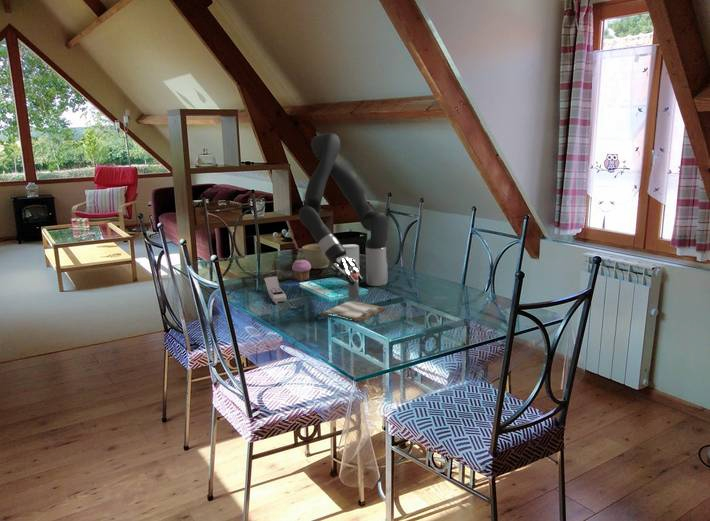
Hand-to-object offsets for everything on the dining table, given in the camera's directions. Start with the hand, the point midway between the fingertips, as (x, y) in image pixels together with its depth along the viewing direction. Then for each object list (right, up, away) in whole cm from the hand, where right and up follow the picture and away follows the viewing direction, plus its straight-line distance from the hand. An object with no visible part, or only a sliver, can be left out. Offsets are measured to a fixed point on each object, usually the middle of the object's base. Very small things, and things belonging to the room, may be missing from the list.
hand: (357, 282), depth 227 cm
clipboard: (-1, -12, +4) cm, 12 cm away
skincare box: (-3, +1, +59) cm, 59 cm away
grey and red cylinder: (-1, -6, +3) cm, 6 cm away
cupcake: (-26, -1, +53) cm, 59 cm away
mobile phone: (-35, -7, +29) cm, 46 cm away
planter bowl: (-20, +5, +77) cm, 80 cm away
